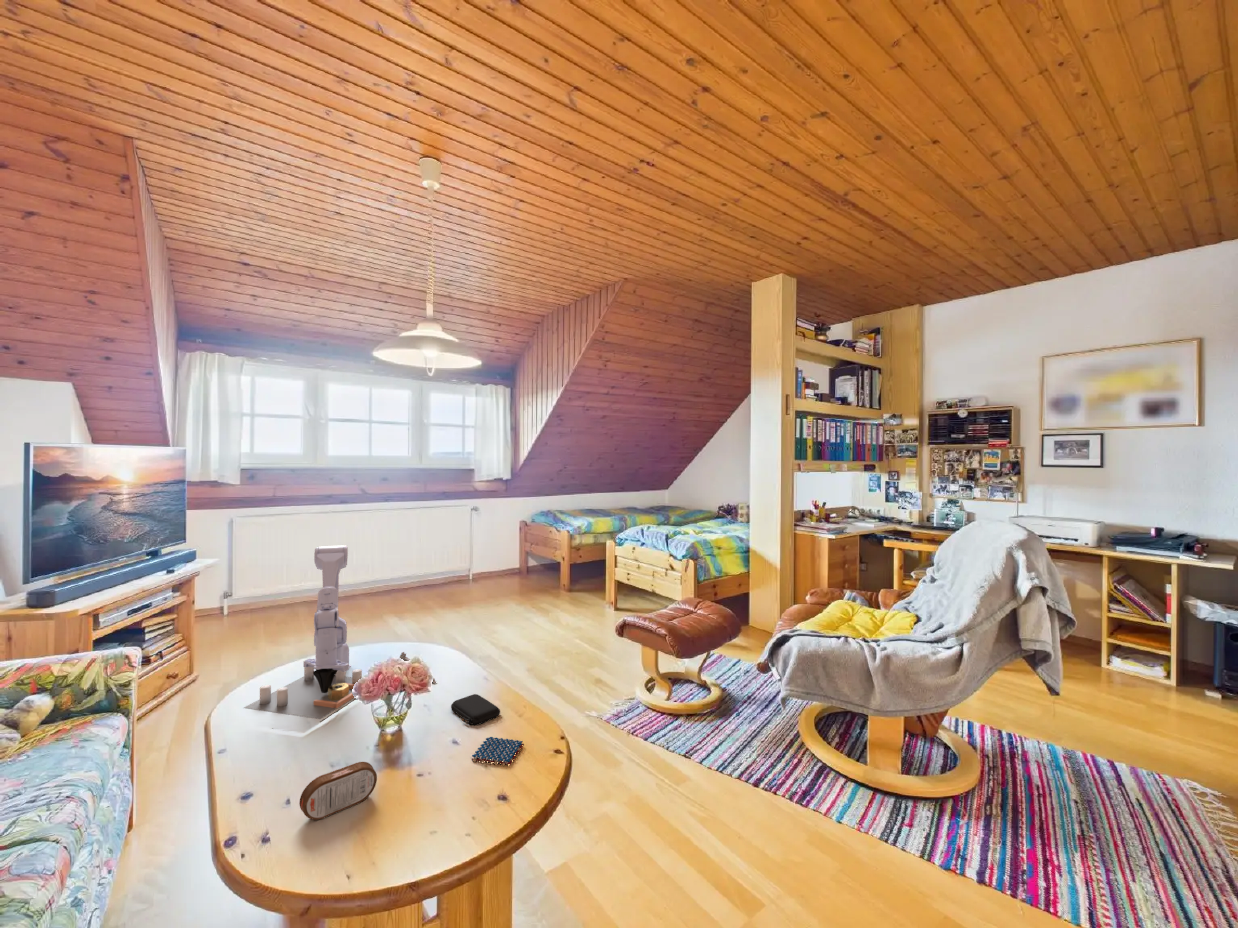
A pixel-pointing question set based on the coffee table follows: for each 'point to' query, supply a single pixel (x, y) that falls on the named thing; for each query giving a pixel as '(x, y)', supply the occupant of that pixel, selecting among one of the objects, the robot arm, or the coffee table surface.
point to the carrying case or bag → (475, 709)
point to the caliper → (403, 656)
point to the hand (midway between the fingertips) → (325, 691)
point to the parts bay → (335, 704)
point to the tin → (338, 790)
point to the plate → (302, 695)
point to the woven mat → (498, 750)
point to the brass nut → (338, 691)
